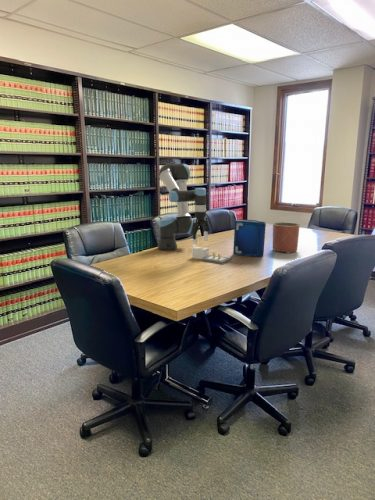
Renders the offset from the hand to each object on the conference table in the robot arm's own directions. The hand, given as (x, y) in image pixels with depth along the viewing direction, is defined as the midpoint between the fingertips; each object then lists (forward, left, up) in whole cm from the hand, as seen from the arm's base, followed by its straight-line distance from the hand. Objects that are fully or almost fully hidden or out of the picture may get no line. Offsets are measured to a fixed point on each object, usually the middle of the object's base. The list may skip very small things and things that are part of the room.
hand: (200, 242), depth 252 cm
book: (+25, +25, -11) cm, 37 cm away
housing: (0, 0, -11) cm, 11 cm away
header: (+13, 0, -11) cm, 17 cm away
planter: (+41, +53, -11) cm, 68 cm away
